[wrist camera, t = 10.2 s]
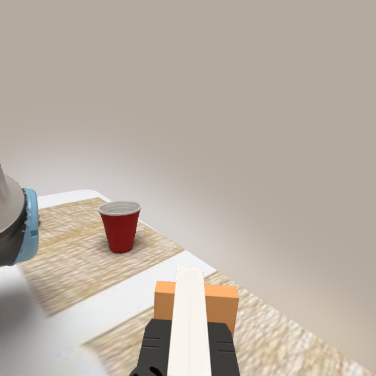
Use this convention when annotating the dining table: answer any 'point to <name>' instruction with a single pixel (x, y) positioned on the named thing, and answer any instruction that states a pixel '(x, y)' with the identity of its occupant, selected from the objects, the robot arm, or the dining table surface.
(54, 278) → the dining table surface
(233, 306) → the upright orange slab
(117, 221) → the plastic cup
